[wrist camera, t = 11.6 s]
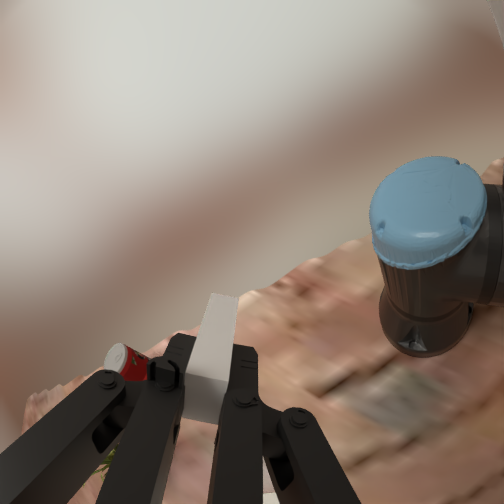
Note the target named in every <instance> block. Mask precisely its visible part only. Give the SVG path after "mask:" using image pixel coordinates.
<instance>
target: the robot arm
mask: <svg viewBox="0 0 504 504" xmlns="http://www.w3.org/2000/svg"><path fill="white" fill-rule="evenodd" d="M487 2H488V4H489V7H490V9H491V12H492V14H493V17H494V20H495V22H496V25H497V28H498V31H499V34H500V38H501V41H502V44H503V48H504V0H487ZM369 218H370V225H371V229H372V243H373V247H374V250H375V252H376V254H377V256H378V260H379V264H380V267H381V271H382V275H383V279H384V283H385V286H384V289H383V291H382V294H381V297H380V302H379V316H380V321H381V325H382V328H383V331H384V333H385V335H386V337H387V339H388V340H389V341H390V343H391V344H392V345H393V346H394V347H395V348H397V349H398V350H399V351H401V352H403V353H405V354H407V355H410V356H414V357H432V356H436V355H439V354H442V353H444V352H446V351H448V350H449V349H451V348H452V347H453V346H455V345H456V344H457V343H458V342H459V340H460V339H461V338H462V337H463V335H464V334H465V332H466V330H467V328H468V325H469V323H470V321H471V317H472V313H473V304H474V303H479V304H486V305H493V306H500V307H504V165H503V184H502V185H494V184H483V183H482V180H481V178H480V177H479V175H478V174H477V173H476V171H475V170H473V169H472V168H471V167H470V166H469V165H467V164H465V163H464V164H461V165H460V163H459V161H458V160H457V159H454V158H449V157H442V156H441V157H440V156H435V157H425V158H420V159H416V160H413V161H411V162H408V163H406V164H404V165H402V166H400V167H399V168H397V169H396V171H395V172H393V173H391V174H390V175H388V176H387V177H386V178H385V179H384V180H383V181H382V182H381V183H380V185H379V187H378V188H377V189H376V191H375V193H374V195H373V197H372V200H371V204H370V210H369ZM238 300H239V298H236V297H231V296H226V295H221V294H216V293H212V294H211V297H210V300H209V303H208V305H207V308H206V311H205V314H204V317H203V320H202V323H201V326H200V329H199V332H198V335H197V337H194V336H190V335H186V334H181V333H177V334H176V335H175V336H173V337H172V338H171V339H170V341H169V344H168V346H167V348H166V350H165V352H164V354H163V356H161V357H155V358H153V359H151V360H149V361H148V363H147V364H146V367H147V380H143V381H125V380H124V378H123V376H122V375H121V374H119V373H118V372H116V371H113V370H107V369H104V370H99V371H97V372H96V373H94V374H93V375H92V376H90V377H89V378H88V379H87V380H86V381H84V382H83V383H82V384H81V385H80V386H79V387H77V388H76V389H75V390H74V391H73V392H72V393H70V394H69V395H68V396H67V397H66V398H65V399H63V400H62V401H61V402H60V403H59V404H57V405H56V406H55V407H54V408H53V409H52V410H51V411H49V412H48V413H47V414H46V415H45V416H44V417H42V418H41V419H40V420H39V421H38V422H37V423H35V424H34V425H33V426H32V427H31V428H30V429H28V430H27V431H26V432H25V433H24V434H23V435H22V436H20V437H19V438H18V439H17V440H16V441H15V442H14V443H12V444H11V445H10V446H9V447H8V448H7V449H6V450H4V451H3V452H2V453H1V454H0V504H67V503H68V502H69V500H70V499H71V498H72V497H73V496H74V495H75V493H76V492H77V491H78V490H79V489H80V488H81V487H82V485H83V484H84V483H85V482H86V481H87V480H88V478H89V477H90V476H91V475H92V474H93V473H94V471H95V470H96V469H97V468H98V467H99V465H100V464H101V463H102V462H103V461H104V460H105V458H106V457H107V456H108V455H109V454H110V452H111V451H112V450H113V449H114V448H115V446H116V445H117V444H118V443H119V445H118V447H117V449H116V452H115V454H114V457H113V459H112V462H111V464H110V467H109V469H108V472H107V474H106V477H105V479H104V482H103V485H102V487H101V490H100V492H99V495H98V498H97V500H96V503H95V504H162V500H163V495H164V491H165V487H166V482H167V478H168V474H169V470H170V466H171V462H172V458H173V454H174V450H175V446H176V442H177V438H178V434H179V430H180V420H181V417H183V418H187V419H192V420H196V421H201V422H206V423H211V424H217V425H218V430H217V434H216V438H215V442H214V444H215V448H214V455H213V463H212V470H211V478H210V485H209V493H208V501H207V504H263V457H264V460H265V463H266V466H267V469H268V472H269V475H270V478H271V481H272V484H273V487H274V490H275V492H276V495H277V498H278V501H279V504H361V502H360V500H359V499H358V497H357V495H356V493H355V491H354V490H353V488H352V486H351V484H350V482H349V480H348V479H347V477H346V475H345V473H344V471H343V469H342V467H341V466H340V464H339V462H338V460H337V458H336V456H335V454H334V453H333V451H332V449H331V447H330V445H329V443H328V441H327V439H326V437H325V436H324V434H323V432H322V430H321V428H320V426H319V424H318V422H317V420H316V418H315V417H314V416H313V414H312V413H310V412H309V411H307V410H305V409H302V408H296V407H292V408H289V409H286V410H285V411H284V412H281V411H278V410H276V409H273V408H271V407H269V406H267V405H266V404H264V403H263V402H262V400H261V399H260V397H259V394H258V354H257V353H256V351H255V349H254V348H253V347H249V346H243V345H237V344H233V341H234V332H235V324H236V316H237V308H238Z"/></svg>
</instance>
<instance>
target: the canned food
mask: <svg viewBox="0 0 504 504" xmlns="http://www.w3.org/2000/svg"><path fill="white" fill-rule="evenodd" d="M149 360H151V359H150V358H148V357H146V356H145V355H143V354H141V353H139V352H137V351H135V350H133V349H131V348H130V347H128V346H126V345H124V344H122V343H117V344H115V345H114V346H113V347H112V348H111V349H110V350H109V352H108V354H107V356H106V359H105V362H104V369H107V370H113V371H116V372H118V373H119V374H121V375H122V376H123V378H124V380H125V381H143V380H147V367H146V364H147V363H148V361H149Z"/></svg>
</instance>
